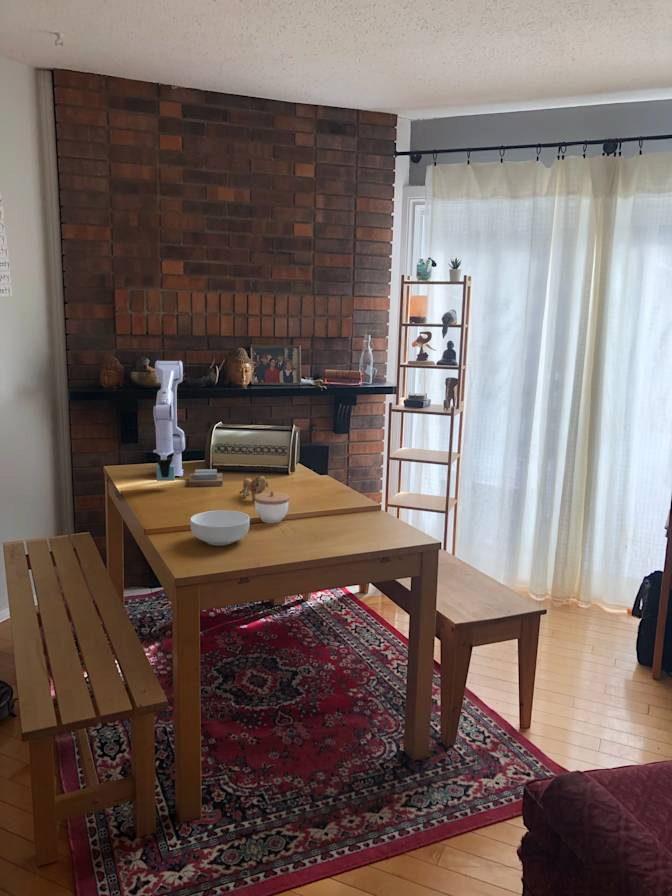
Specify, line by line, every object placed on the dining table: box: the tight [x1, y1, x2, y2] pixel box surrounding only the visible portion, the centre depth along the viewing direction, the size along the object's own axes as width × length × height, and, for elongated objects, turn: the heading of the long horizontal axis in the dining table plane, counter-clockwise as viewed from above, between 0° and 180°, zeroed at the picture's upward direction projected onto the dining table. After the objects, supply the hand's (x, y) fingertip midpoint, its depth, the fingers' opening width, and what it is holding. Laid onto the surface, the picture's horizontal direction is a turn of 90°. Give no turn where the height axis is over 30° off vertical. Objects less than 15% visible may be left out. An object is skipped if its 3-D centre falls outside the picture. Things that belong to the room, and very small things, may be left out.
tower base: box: [188, 468, 223, 487], centre depth 275 cm, size 12×12×4 cm
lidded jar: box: [254, 490, 290, 524], centre depth 231 cm, size 11×11×9 cm
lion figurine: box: [238, 476, 270, 503], centre depth 254 cm, size 15×5×9 cm, turn 44°
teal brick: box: [155, 463, 176, 482], centre depth 264 cm, size 4×6×5 cm
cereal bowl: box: [189, 509, 251, 547], centre depth 211 cm, size 17×17×7 cm
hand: (165, 475), depth 264 cm, fingers closed on teal brick, 4 cm apart
